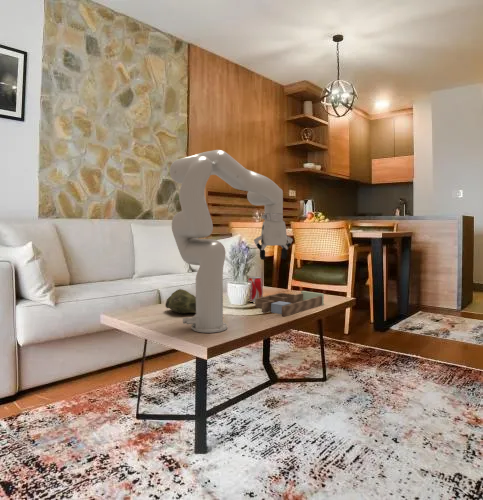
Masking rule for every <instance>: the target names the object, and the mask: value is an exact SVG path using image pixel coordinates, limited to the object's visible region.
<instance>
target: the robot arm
mask: <svg viewBox="0 0 483 500" xmlns="http://www.w3.org/2000/svg"><path fill="white" fill-rule="evenodd" d="M169 175H170V178H171V180H173V181H174V182H175V183H177V184H181V185H180V188H179V194H178V197H179V199H178V200H179V204H180V207H181V211H178V212H177V213H175V214H174V216H173V218H172V220H171V230H172V235H173V237H174V241H175V244H176V246H177V249H178V251H179V255H180V257H181V259H182V260H183V262H185V263H186V264H188V265H191V266H199V267H198V270H197V272H196V276H195V297H196V313H195V314H194V315H193V316H191V317H183V318H182V324H183V325H184V324H185V325H191V330H192V331H194V332H197V333H204V334H209V333H211V334H213V333H219V332H223V331H225V330H227V329H228V324H227V323H226V322H224V317H223V316H224V313H223V312H224V311H223V310H224V309H223V308H224V304H223V303H224V298H223V297H224V292H223V291H224V290H223V287H224V285H223V281H224V280H223V278H224V275H223V274H224V264H225V260H226V253H227V252H226V249H225V246H224V244H223V243H222V242H220V241H218V240H217V239H211V238H207V237H209V236H211V235H212V233H213V231H214V225H213V220H212V217H211V214H210V210H209V207H208V204H207V201H206V196H205V189H206V185H207V183H208V180H209V179H210V177H211V176H217V177H218V178H220V179H221V180H222V181H224V182H225V183H226V184H228V185H229V186H230V187H232V188H233V189H235V190H239V191H245V192H247V194H246V195H247V196H246V198H247V200H248V202H249V204H251V205H252V206H253V205H254V206H264V213H263V215H261V219H262V220H263V222H262V224H261V231H260V232H261V234H260V235H259V236H257V237H256V238H254V239H253V242H254V244H255V246H256V247H257V248H258V250H259V258H260V260H263V261H265V260H266V250H265V248H266V247H267V246H273V247H274V246H280V247H281V248H282V249H281V259H284V260H286V259H287V257H288V249H289V247H291V244H292V242H293V241H294V240H293V238H292V237H290V236H288V235H287V227H286V221H284V219H283V217H284V215H283V214H284V213H283V210H284V207H283V206H284V205H283V204H284V199H283V198H284V191H283V189H282V188H281V187H280V186H278V184H277V183H275V182H274V181H273V180H272V179H270V178H269V177H268V176H265V175H263V174H261V173H258V172H256V171H253V170H250V169H247V168H246V167H244V166H243V164H241V163H239V162H238V161H237V160H236V159H235V158H234V157H233V156H231V154H229V153H227V152H226V151H225V150H222V149H214V150H208V151H204V152H200V153H196V154H194V155H193V154H192V155H188V156H185V157H181V158H178V159H175V160H174V161H173V162H172V163H171V164H170V166H169ZM260 243H261V244H260Z"/></svg>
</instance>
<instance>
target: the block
mask: <svg viewBox="0 0 483 500" xmlns="http://www.w3.org/2000/svg"><path fill="white" fill-rule="evenodd" d="M289 304H292V303H288V302H282V301H278V302H274V303H271V311H270V312H271V313H272V314H273V313H274V314H278V315H282V306H285V305H289Z"/></svg>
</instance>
